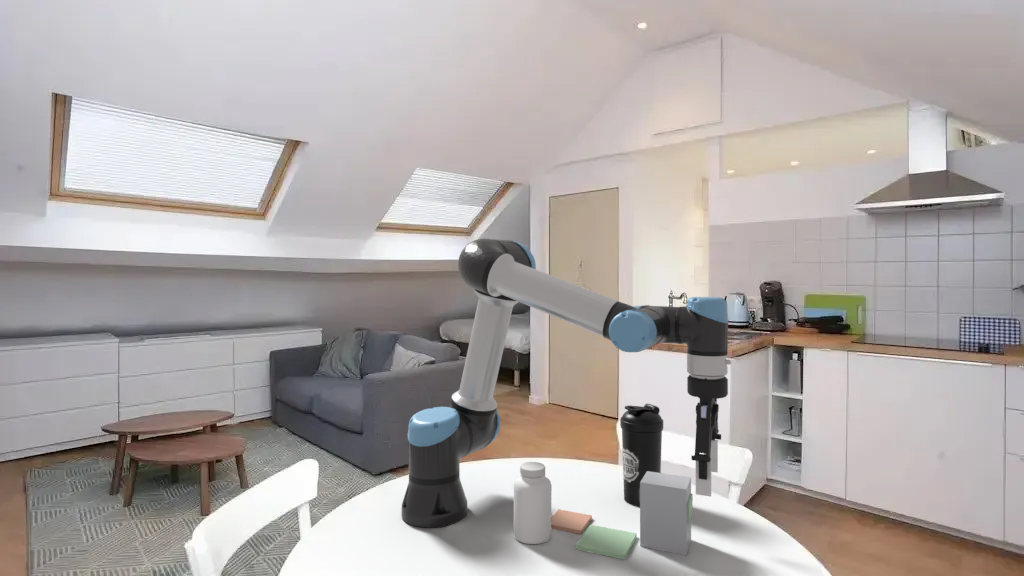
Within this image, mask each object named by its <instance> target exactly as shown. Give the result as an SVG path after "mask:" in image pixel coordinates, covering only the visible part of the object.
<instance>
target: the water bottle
mask: <svg viewBox="0 0 1024 576" xmlns="http://www.w3.org/2000/svg"><path fill="white" fill-rule="evenodd" d="M624 409H625V410H626V411H625V412H624V413H623V414H622V415H621V417H620V418H619V419H620V423H619V424H620V425H619V426H620V428H621V433H622V434H621V437H622V438H621V441H622V442H621V443H622V445H621V446H622V449H621V450H622V454H621V455H622V476H623V500H624V501H625V503H626V504H628V505H630V506H634V507H638V508H640V501H639V489H640V482H641V480H642V478H643V477H644V475H645V474H646V472H647V471H650V472H657V473H662V471H661V470H662V441H663V440H662V437H663V433H662V432H663V431H664V419H663V418H662V416H661V415H660V411H661V410H660V407H659V406H657V405H654V404H651V403H645V404H644V405H643V406H639V405H638V406H637V405H626V406H624Z"/></svg>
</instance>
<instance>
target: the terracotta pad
mask: <svg viewBox="0 0 1024 576" xmlns="http://www.w3.org/2000/svg"><path fill="white" fill-rule="evenodd" d="M592 520H593V515H592V514H586V513H583V512H582V513H580V512H577V511H576V512H575V511H569V510H565V509H558V510H557V511H555V513H554V514H553V515H551V529H554V530H559V531H564V532H569V533H573V534H578V535H582V533H584V532H585V531H584V530H586V529H587V528H588V527H587V526H588V525H590V522H591V521H592Z"/></svg>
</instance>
